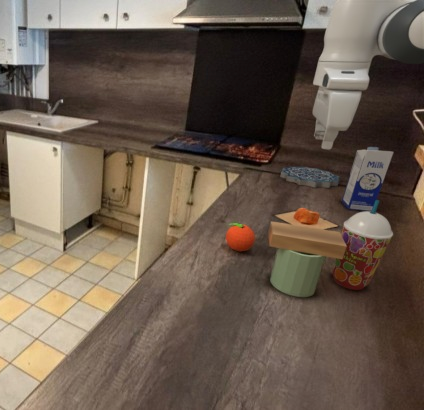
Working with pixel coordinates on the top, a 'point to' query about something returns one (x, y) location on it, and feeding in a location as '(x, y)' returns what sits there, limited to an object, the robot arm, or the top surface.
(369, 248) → the smoothie
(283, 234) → the wooden block
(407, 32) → the robot arm
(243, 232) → the clementine
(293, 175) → the decorative tile
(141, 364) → the top surface
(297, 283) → the cup
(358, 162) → the milk carton
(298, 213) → the salmon on cutting board
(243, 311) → the top surface
